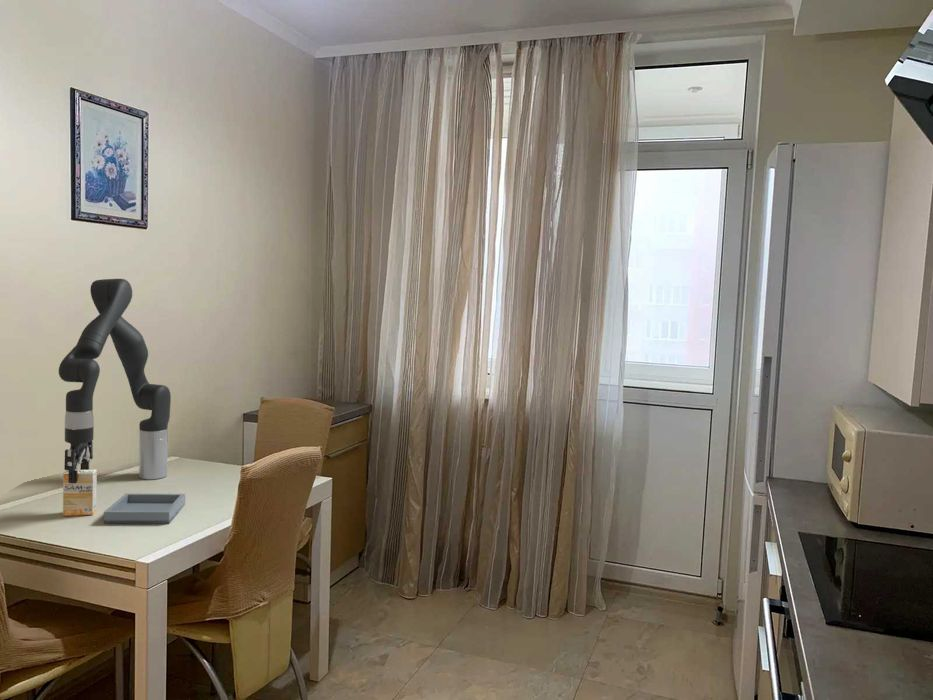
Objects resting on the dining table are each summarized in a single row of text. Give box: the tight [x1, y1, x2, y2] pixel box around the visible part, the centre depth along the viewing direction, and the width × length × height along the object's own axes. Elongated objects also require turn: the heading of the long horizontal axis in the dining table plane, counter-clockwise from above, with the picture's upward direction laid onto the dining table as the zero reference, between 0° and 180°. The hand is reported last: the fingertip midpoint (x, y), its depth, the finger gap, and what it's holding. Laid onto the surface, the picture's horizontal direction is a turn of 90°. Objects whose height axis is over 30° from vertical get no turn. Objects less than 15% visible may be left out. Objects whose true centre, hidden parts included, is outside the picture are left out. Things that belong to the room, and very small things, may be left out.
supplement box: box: [62, 469, 98, 517], centre depth 212 cm, size 8×5×13 cm, turn 105°
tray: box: [103, 492, 186, 525], centre depth 215 cm, size 18×18×4 cm
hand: (78, 479), depth 211 cm, fingers open, 8 cm apart
